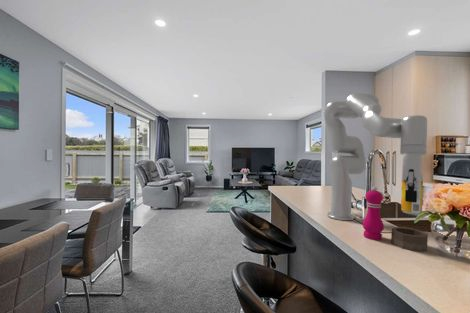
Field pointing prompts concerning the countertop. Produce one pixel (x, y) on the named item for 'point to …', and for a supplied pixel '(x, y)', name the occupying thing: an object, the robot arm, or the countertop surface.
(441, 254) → the countertop surface
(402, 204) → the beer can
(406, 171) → the robot arm
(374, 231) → the pepper mill
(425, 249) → the socket
